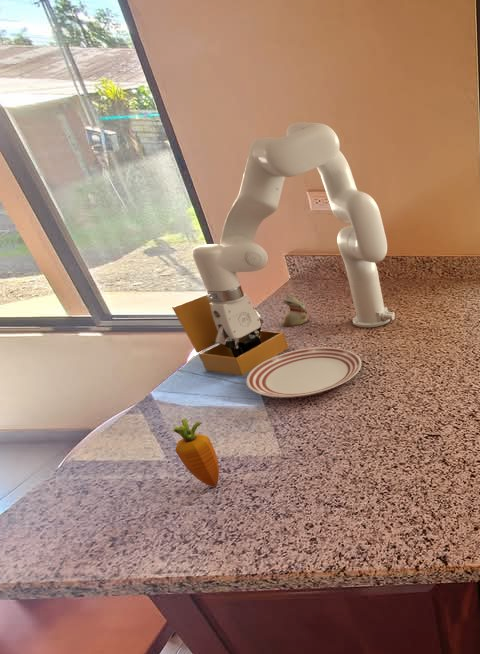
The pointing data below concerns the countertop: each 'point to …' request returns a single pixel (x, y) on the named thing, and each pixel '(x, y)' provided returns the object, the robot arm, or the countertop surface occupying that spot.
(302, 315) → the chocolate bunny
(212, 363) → the box
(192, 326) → the hinged box lid
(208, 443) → the carrot
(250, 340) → the black block
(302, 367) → the dinner plate
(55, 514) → the countertop surface
